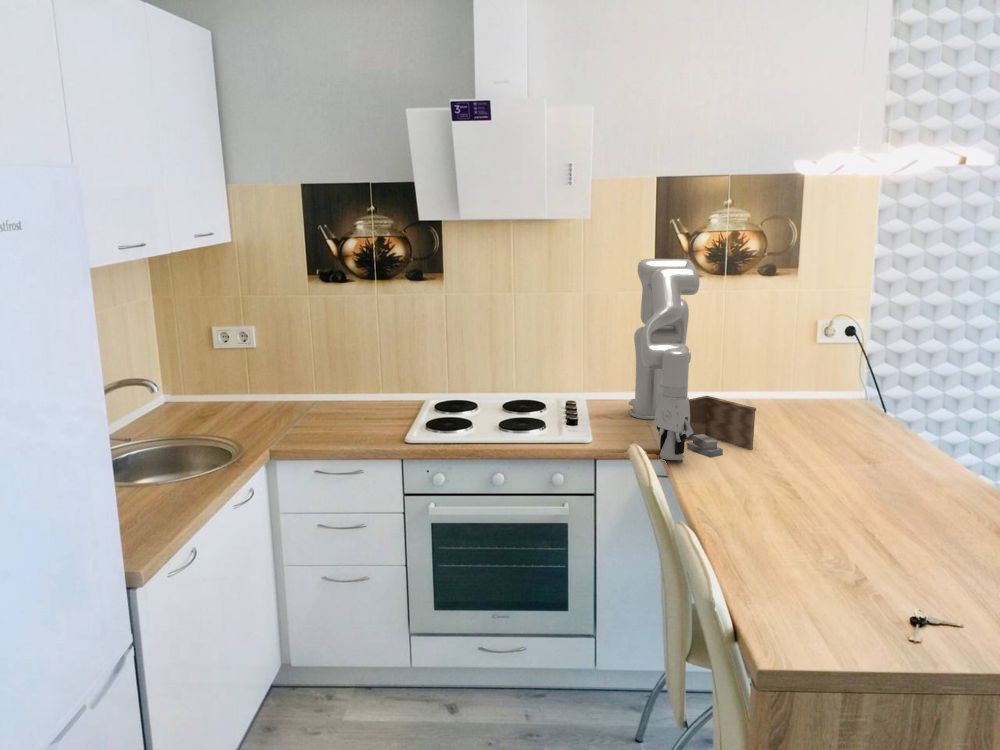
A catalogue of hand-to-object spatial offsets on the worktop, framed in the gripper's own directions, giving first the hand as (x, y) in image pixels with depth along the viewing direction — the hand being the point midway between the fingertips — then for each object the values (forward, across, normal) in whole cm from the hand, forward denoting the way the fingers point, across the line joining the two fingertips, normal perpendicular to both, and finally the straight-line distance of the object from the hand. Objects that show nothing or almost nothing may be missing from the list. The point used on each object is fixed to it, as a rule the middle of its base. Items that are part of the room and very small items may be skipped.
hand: (671, 450), depth 252 cm
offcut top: (+1, 0, +14) cm, 14 cm away
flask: (+2, 0, 0) cm, 2 cm away
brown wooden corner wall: (+3, -2, +19) cm, 19 cm away
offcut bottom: (+4, 0, +14) cm, 15 cm away
